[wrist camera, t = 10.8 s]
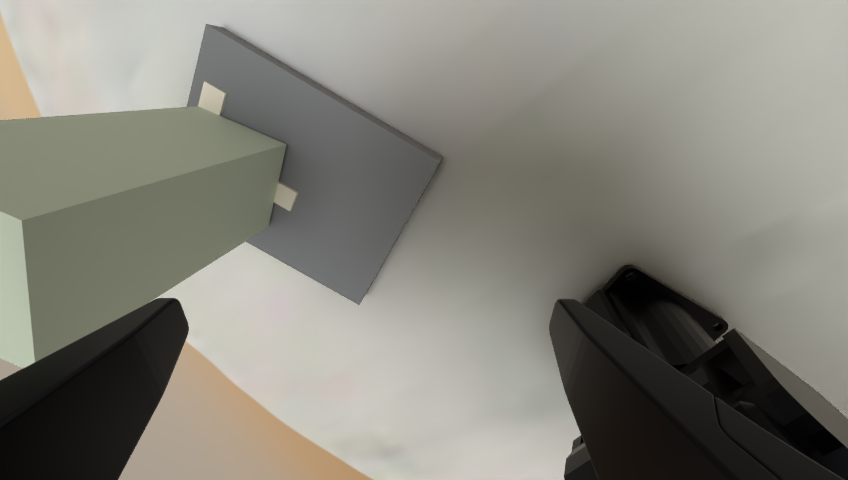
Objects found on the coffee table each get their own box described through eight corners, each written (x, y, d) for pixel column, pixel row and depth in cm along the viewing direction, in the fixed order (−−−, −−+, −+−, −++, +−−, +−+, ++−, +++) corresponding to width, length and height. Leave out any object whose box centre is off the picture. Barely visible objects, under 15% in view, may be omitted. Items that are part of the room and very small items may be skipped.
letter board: (443, 157, 20) (439, 162, 18) (365, 294, 24) (357, 306, 23) (222, 27, 19) (203, 23, 18) (181, 191, 23) (163, 197, 22)
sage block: (286, 144, 19) (21, 220, 8) (268, 226, 21) (36, 373, 11) (198, 106, 19) (-180, 133, 9) (188, 192, 22) (-127, 302, 11)
